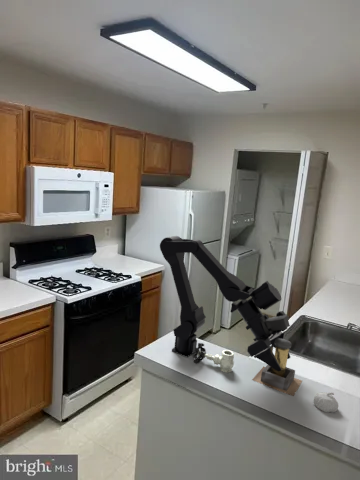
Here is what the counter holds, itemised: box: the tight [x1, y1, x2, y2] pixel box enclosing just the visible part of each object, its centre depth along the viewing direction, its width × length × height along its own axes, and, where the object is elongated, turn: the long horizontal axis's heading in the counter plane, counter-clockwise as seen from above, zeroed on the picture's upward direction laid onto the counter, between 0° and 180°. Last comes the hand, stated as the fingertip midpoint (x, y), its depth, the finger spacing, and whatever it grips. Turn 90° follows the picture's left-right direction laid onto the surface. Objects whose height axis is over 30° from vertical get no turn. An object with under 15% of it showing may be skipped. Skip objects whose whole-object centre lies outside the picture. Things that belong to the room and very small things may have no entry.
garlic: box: [313, 392, 339, 413], centre depth 92 cm, size 6×5×5 cm
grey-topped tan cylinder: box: [272, 338, 292, 378], centre depth 102 cm, size 5×5×12 cm
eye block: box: [251, 364, 303, 397], centre depth 102 cm, size 12×10×4 cm
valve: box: [192, 342, 235, 374], centre depth 107 cm, size 7×7×12 cm
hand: (284, 364), depth 101 cm, fingers open, 9 cm apart
